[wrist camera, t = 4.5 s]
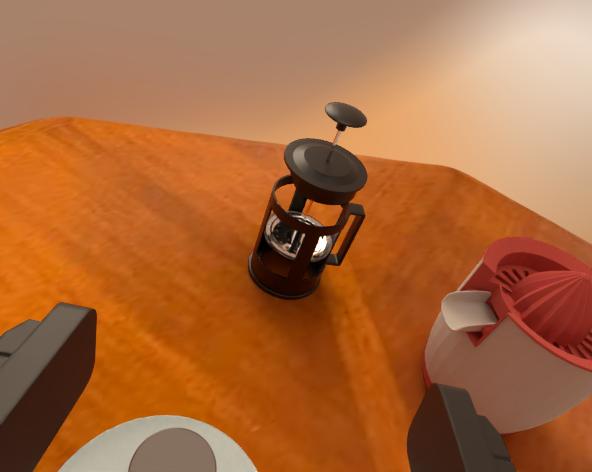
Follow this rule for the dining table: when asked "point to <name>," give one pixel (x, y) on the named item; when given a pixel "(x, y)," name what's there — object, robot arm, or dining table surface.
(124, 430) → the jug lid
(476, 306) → the citrus juicer
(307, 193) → the french press
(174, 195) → the dining table surface
